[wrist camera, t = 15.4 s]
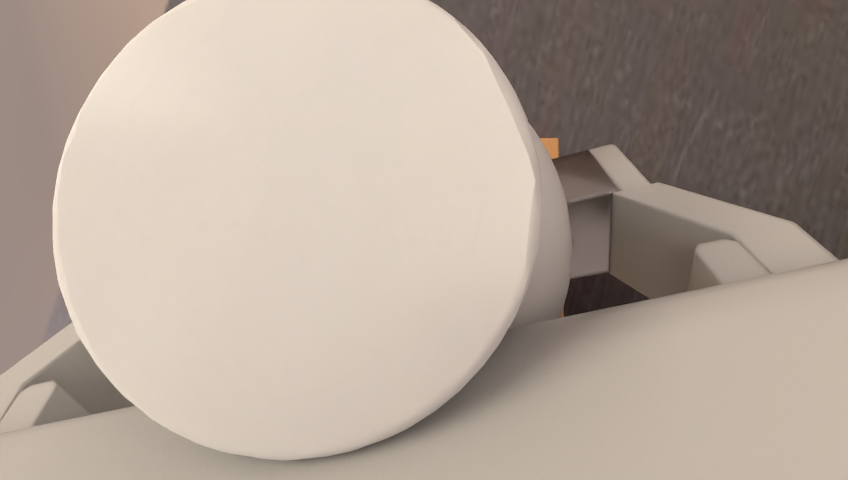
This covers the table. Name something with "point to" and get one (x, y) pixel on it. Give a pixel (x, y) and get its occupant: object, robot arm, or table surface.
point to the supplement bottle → (304, 221)
